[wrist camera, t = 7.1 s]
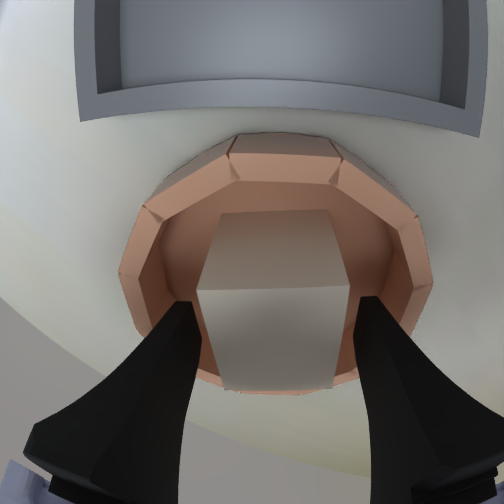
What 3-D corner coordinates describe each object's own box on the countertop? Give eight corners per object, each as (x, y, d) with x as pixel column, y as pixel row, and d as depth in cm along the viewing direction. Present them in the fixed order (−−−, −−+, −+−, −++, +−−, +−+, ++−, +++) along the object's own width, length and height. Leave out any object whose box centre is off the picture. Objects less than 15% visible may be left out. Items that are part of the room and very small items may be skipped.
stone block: (326, 208, 11) (350, 285, 8) (321, 306, 14) (331, 388, 10) (221, 213, 12) (196, 290, 8) (236, 309, 15) (224, 390, 11)
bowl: (427, 147, 10) (467, 175, 8) (369, 348, 17) (379, 391, 14) (131, 136, 11) (91, 160, 8) (171, 340, 17) (158, 383, 15)
